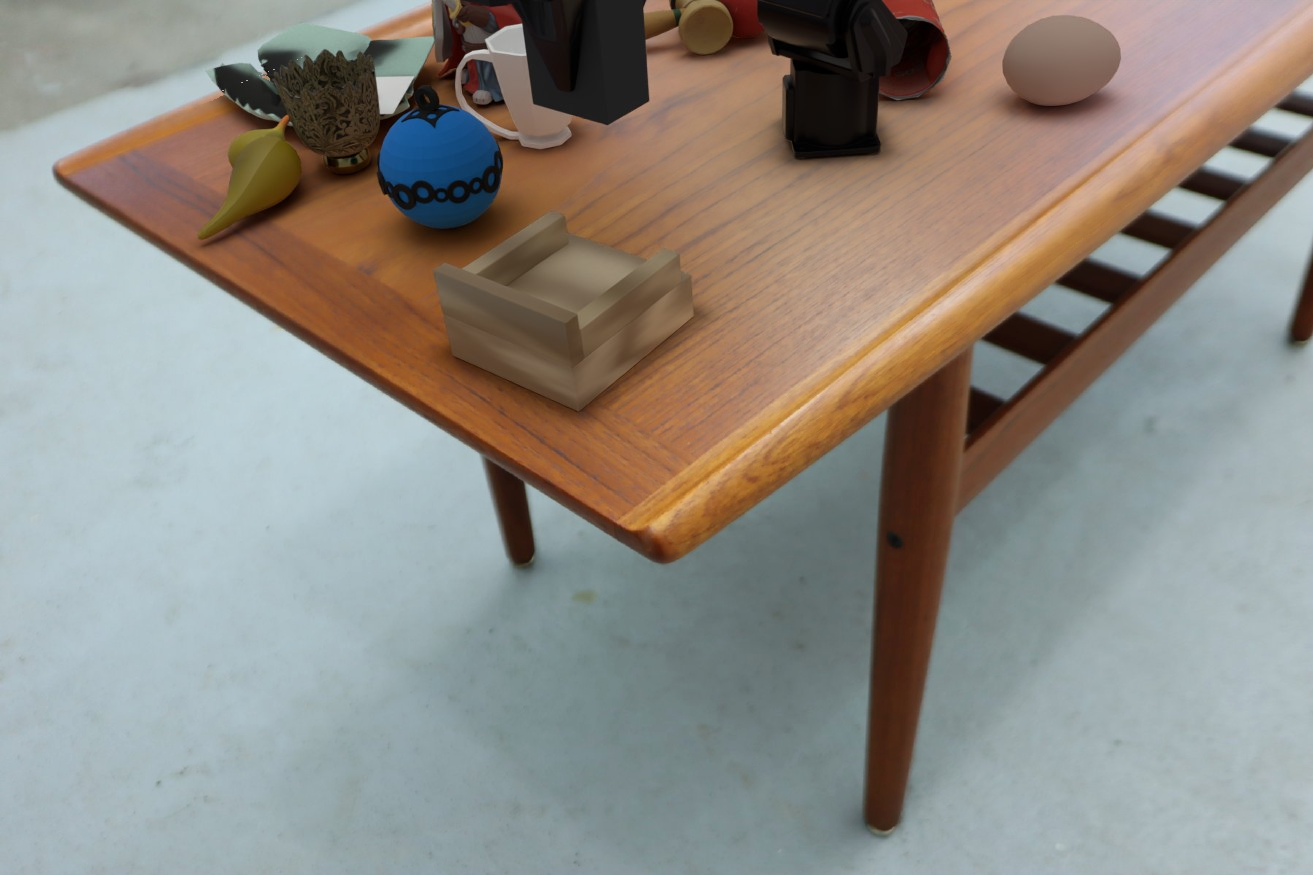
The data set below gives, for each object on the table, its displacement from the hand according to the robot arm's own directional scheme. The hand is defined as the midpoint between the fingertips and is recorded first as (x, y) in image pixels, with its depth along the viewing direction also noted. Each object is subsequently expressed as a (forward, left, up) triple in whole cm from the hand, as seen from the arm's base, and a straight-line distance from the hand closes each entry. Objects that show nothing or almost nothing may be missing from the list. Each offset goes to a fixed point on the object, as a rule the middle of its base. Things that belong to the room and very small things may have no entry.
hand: (590, 77), depth 65 cm
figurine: (+11, -30, -12) cm, 34 cm away
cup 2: (+7, -19, -13) cm, 24 cm away
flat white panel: (+20, -24, -10) cm, 32 cm away
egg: (-30, -18, -9) cm, 36 cm away
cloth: (+26, -31, -10) cm, 42 cm away
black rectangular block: (0, 0, -2) cm, 2 cm away
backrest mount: (+2, +9, -12) cm, 15 cm away
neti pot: (+23, -11, -9) cm, 27 cm away
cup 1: (+21, -16, -13) cm, 29 cm away
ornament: (+11, -6, -13) cm, 18 cm away
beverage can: (-24, -27, -13) cm, 38 cm away
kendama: (-6, -36, -13) cm, 39 cm away
